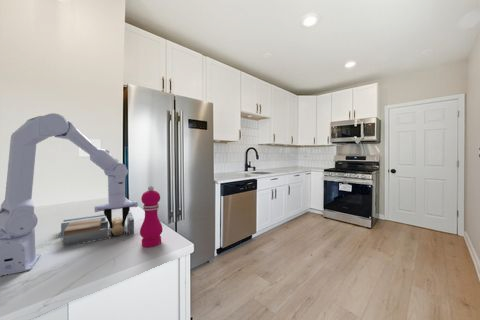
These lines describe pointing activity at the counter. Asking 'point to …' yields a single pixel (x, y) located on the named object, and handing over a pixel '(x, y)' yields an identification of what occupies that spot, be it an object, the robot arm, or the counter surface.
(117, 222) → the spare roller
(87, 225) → the slab
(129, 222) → the stop rail
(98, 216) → the roller stand
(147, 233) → the pepper mill
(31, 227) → the robot arm
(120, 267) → the counter surface
